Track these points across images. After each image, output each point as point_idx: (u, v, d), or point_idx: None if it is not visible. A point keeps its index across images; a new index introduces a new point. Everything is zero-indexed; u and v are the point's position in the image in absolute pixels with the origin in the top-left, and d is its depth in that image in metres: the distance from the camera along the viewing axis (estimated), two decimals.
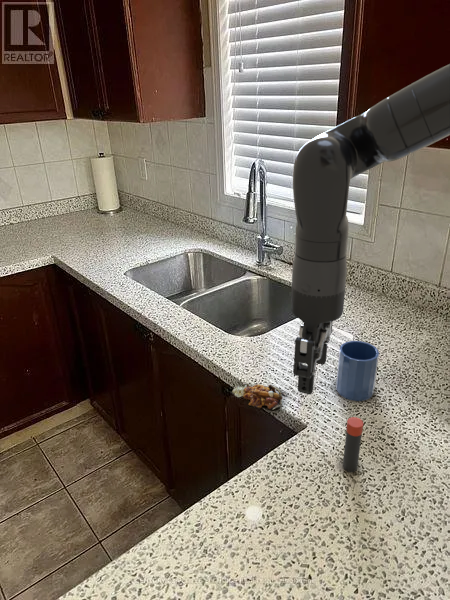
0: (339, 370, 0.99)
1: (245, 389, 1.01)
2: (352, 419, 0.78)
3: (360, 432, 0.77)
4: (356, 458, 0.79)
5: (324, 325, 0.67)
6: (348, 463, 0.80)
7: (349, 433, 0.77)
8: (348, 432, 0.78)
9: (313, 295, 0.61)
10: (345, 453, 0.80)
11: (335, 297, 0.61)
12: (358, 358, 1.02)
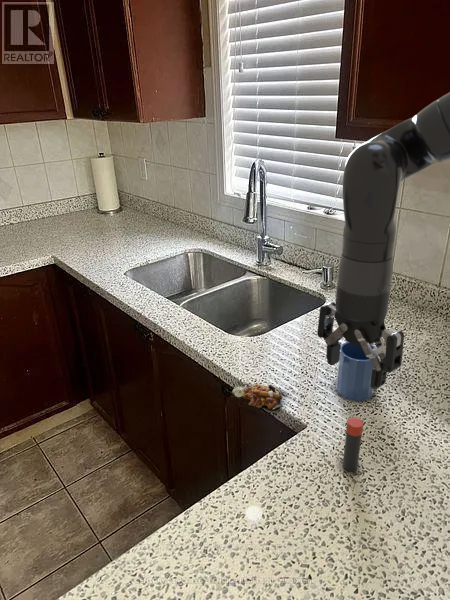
0: (339, 370, 0.99)
1: (245, 389, 1.01)
2: (352, 419, 0.78)
3: (360, 432, 0.77)
4: (356, 458, 0.79)
5: None
6: (348, 463, 0.80)
7: (349, 433, 0.77)
8: (348, 432, 0.78)
9: (386, 292, 0.63)
10: (345, 453, 0.80)
11: None
12: (358, 358, 1.02)
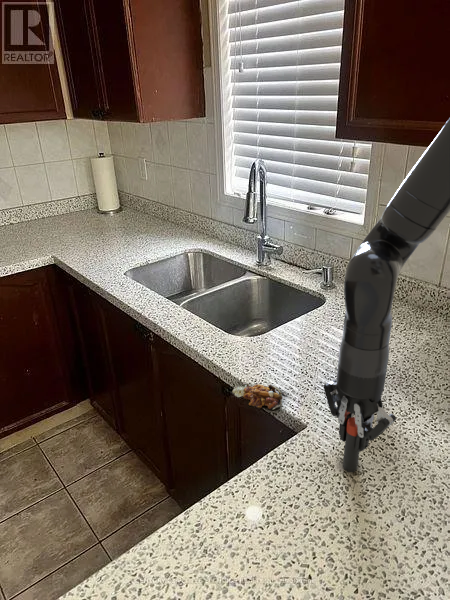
0: None
1: (245, 389, 1.01)
2: (352, 419, 0.78)
3: None
4: (356, 458, 0.79)
5: None
6: (348, 463, 0.80)
7: (349, 433, 0.77)
8: (348, 432, 0.77)
9: (383, 373, 0.69)
10: (345, 453, 0.80)
11: None
12: None
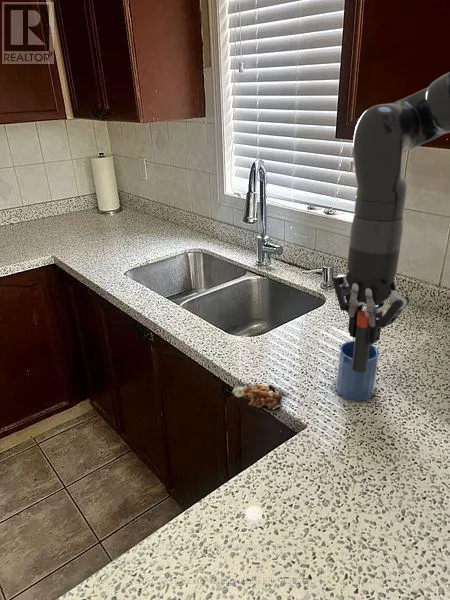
0: (339, 370, 0.99)
1: (245, 389, 1.01)
2: (362, 312, 0.75)
3: None
4: (366, 354, 0.77)
5: None
6: (358, 359, 0.77)
7: (359, 325, 0.75)
8: (358, 325, 0.75)
9: (396, 250, 0.67)
10: (355, 350, 0.77)
11: None
12: None
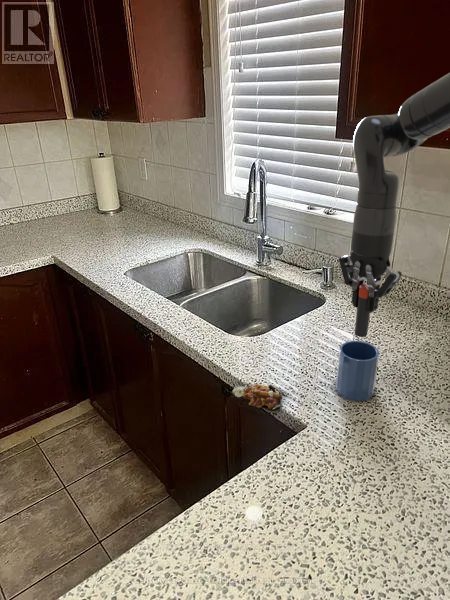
0: (339, 370, 0.99)
1: (245, 389, 1.01)
2: (363, 285, 0.91)
3: None
4: (367, 321, 0.92)
5: None
6: (360, 326, 0.93)
7: (361, 296, 0.90)
8: (360, 296, 0.90)
9: (391, 233, 0.82)
10: (357, 317, 0.93)
11: None
12: (358, 358, 1.02)
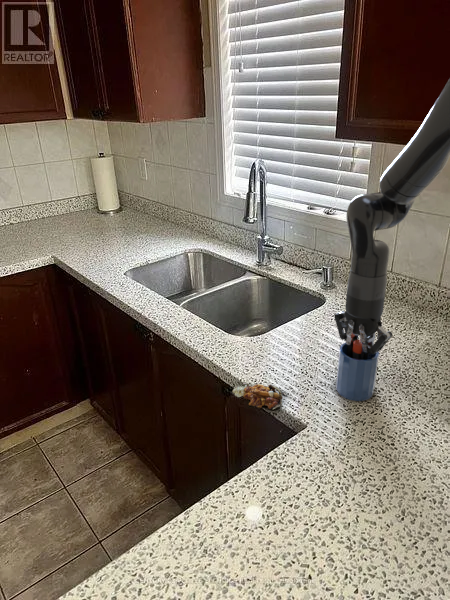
0: (339, 370, 0.99)
1: (245, 389, 1.01)
2: (357, 341, 0.97)
3: None
4: None
5: None
6: None
7: (355, 351, 0.97)
8: (354, 351, 0.97)
9: (382, 297, 0.89)
10: None
11: None
12: None
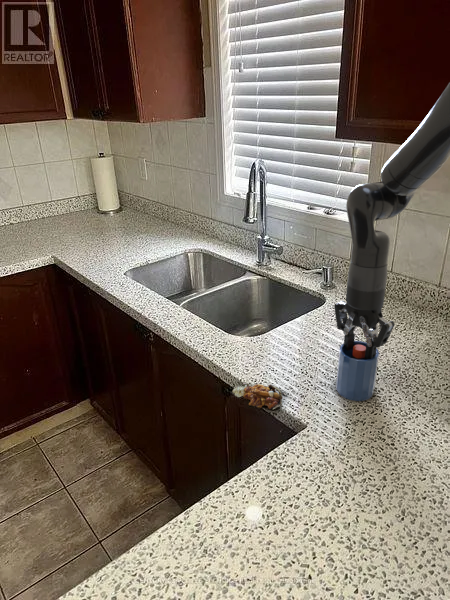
0: (339, 370, 0.99)
1: (245, 389, 1.01)
2: (357, 346, 0.98)
3: (363, 355, 0.97)
4: None
5: None
6: None
7: (355, 356, 0.97)
8: (354, 356, 0.97)
9: (382, 289, 0.88)
10: None
11: None
12: None
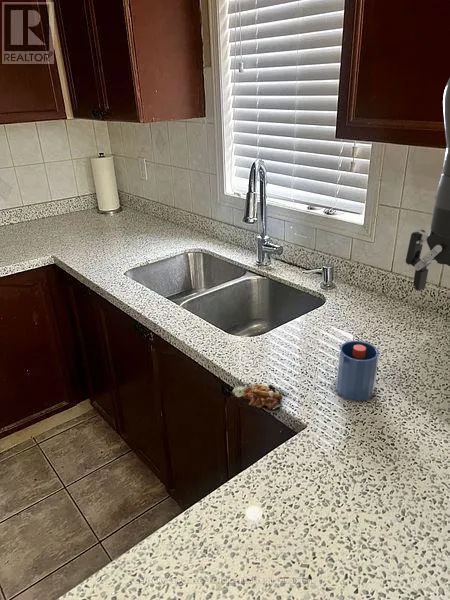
0: (339, 370, 0.99)
1: (245, 389, 1.01)
2: (357, 346, 0.98)
3: (363, 355, 0.97)
4: None
5: None
6: None
7: (355, 356, 0.97)
8: (354, 356, 0.97)
9: None
10: None
11: None
12: None
